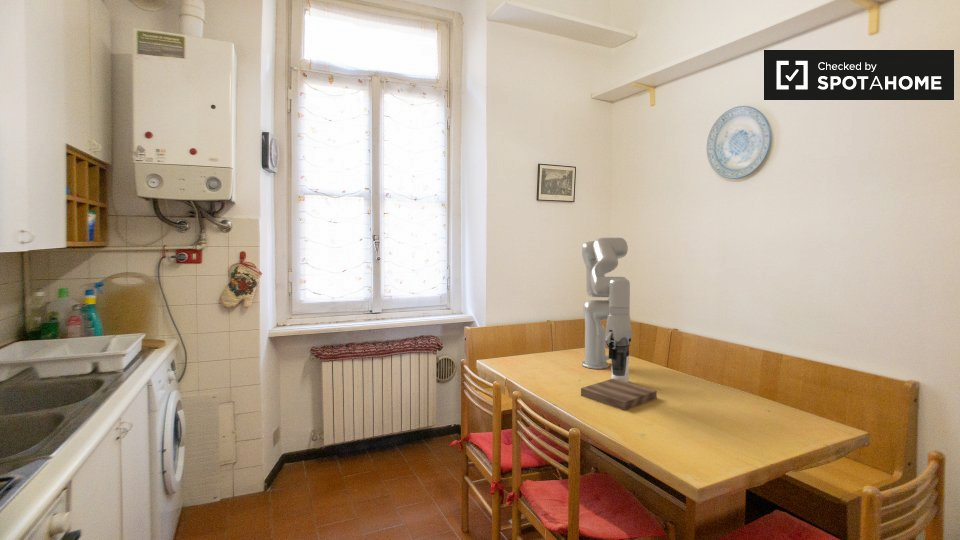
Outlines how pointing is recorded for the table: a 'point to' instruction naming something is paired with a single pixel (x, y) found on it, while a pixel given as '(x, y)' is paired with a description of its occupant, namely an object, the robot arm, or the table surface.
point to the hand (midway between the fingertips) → (618, 356)
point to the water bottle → (626, 376)
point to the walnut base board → (619, 393)
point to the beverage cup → (620, 357)
